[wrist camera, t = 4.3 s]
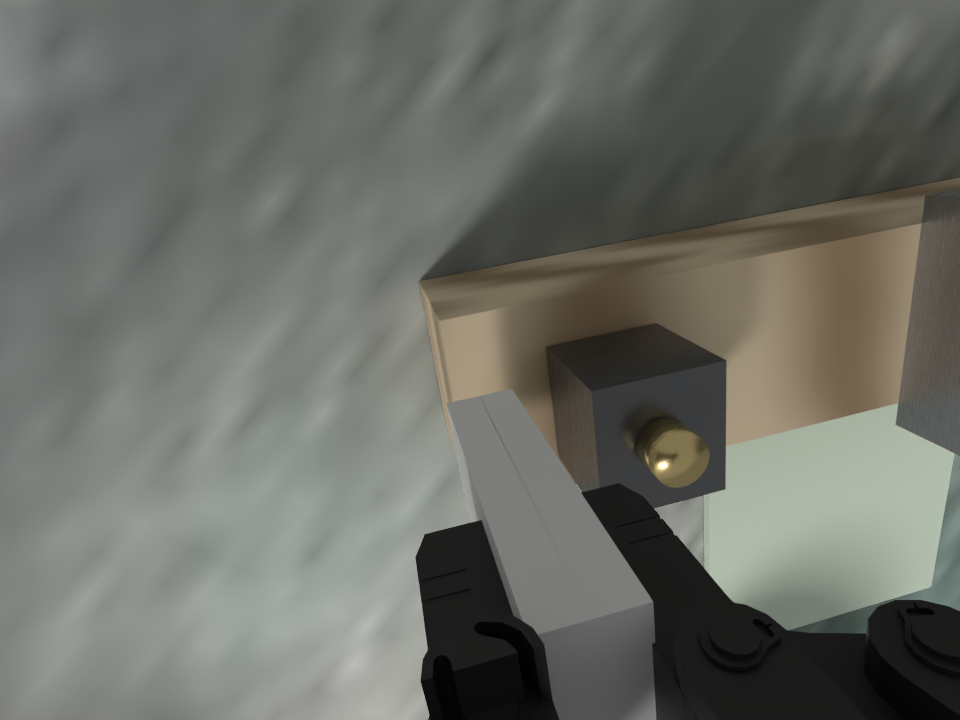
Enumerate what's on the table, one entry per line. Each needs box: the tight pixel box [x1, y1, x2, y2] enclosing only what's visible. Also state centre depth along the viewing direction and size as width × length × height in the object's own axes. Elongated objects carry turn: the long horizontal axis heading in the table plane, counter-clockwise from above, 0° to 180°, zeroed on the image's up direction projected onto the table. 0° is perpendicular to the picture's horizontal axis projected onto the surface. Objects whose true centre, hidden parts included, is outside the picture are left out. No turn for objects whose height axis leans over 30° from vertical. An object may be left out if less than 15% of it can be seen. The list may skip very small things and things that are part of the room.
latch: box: [546, 323, 727, 508], centre depth 13 cm, size 3×3×4 cm
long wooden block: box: [419, 178, 960, 484], centre depth 18 cm, size 22×6×5 cm, turn 99°
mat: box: [704, 403, 954, 630], centre depth 25 cm, size 12×11×1 cm
